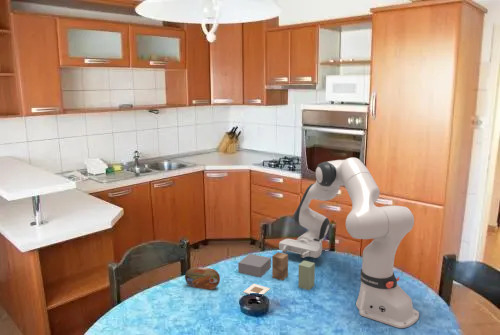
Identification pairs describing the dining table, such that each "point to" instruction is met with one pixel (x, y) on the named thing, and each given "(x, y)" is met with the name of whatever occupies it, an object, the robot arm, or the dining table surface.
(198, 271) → the tin
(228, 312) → the dining table surface
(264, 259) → the base block
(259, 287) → the card
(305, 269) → the olive block
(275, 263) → the walnut block
